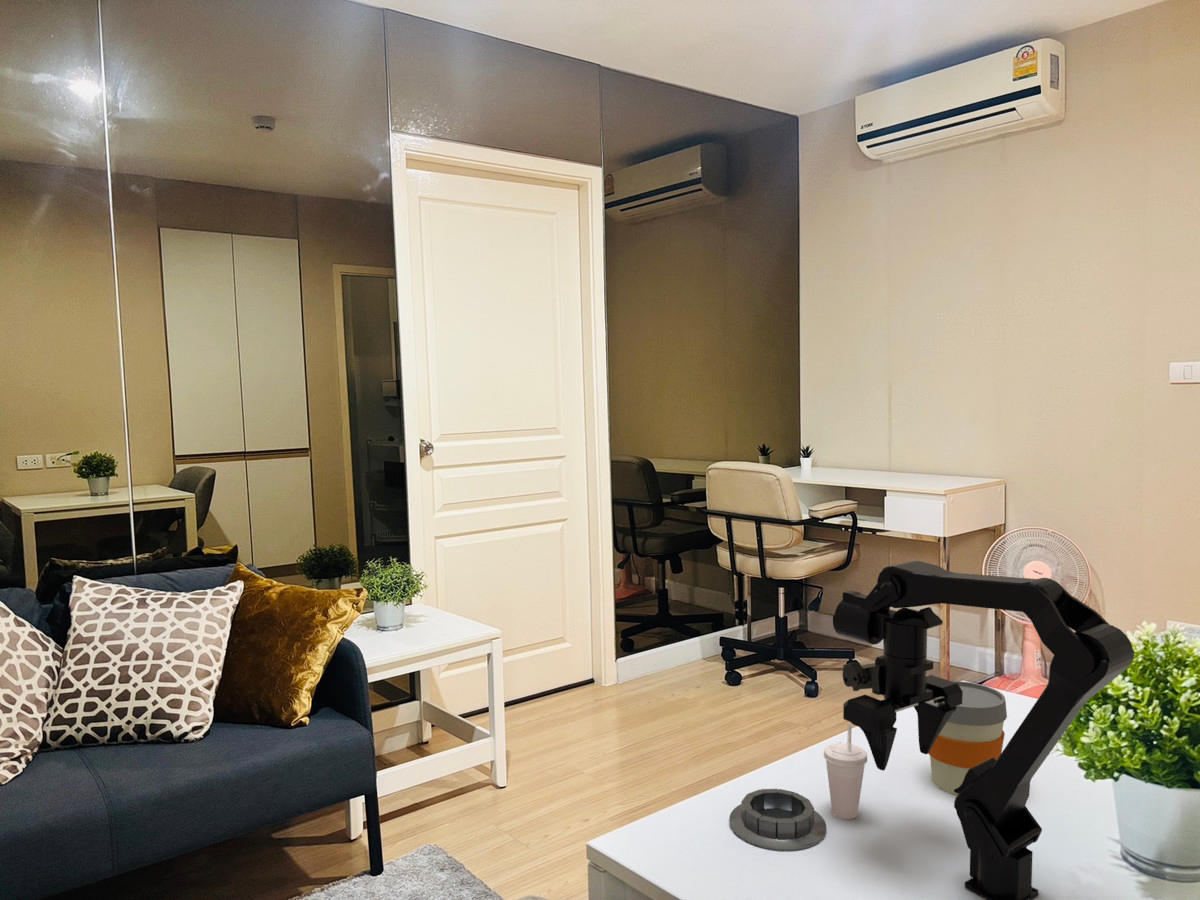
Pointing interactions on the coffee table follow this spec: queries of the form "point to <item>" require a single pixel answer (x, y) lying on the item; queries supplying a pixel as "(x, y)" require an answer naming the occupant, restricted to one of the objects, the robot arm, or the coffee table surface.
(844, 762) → the smoothie
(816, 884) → the coffee table surface
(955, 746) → the reusable coffee cup
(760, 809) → the mount
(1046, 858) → the coffee table surface
